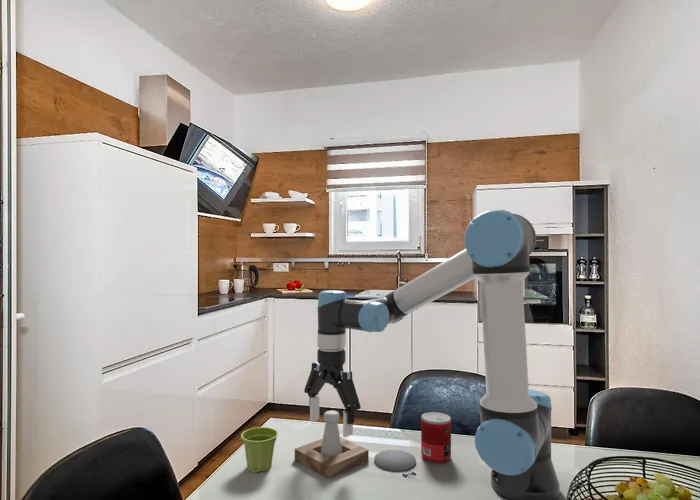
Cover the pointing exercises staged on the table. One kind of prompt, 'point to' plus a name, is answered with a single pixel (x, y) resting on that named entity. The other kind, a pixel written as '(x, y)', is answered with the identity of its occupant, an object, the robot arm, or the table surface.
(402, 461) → the coaster
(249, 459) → the plant pot
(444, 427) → the canned food
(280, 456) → the table surface
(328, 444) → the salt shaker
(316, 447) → the collar block
